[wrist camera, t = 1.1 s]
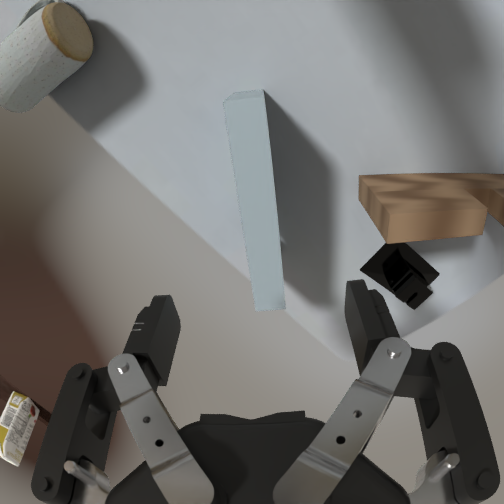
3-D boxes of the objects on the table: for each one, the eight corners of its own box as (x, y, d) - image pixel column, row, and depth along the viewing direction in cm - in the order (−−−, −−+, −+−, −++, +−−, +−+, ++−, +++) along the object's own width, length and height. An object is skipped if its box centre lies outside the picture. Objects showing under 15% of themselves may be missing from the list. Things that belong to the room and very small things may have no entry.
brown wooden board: (358, 199, 28) (386, 243, 21) (359, 175, 27) (389, 214, 20) (520, 193, 26) (561, 226, 19) (523, 175, 25) (566, 205, 18)
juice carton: (30, 396, 56) (5, 457, 40) (43, 412, 61) (22, 469, 45) (9, 387, 56) (-16, 444, 40) (23, 404, 61) (1, 458, 45)
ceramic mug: (109, 58, 21) (62, 60, 15) (48, 105, 23) (-3, 124, 17) (73, -21, 16) (24, -34, 10) (16, 30, 18) (-36, 33, 11)
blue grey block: (233, 93, 23) (222, 101, 17) (263, 89, 23) (264, 96, 16) (257, 256, 32) (255, 311, 25) (280, 254, 32) (285, 308, 25)
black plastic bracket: (344, 265, 33) (353, 292, 29) (390, 216, 30) (406, 238, 26) (408, 309, 36) (420, 335, 33) (449, 271, 33) (465, 294, 29)
